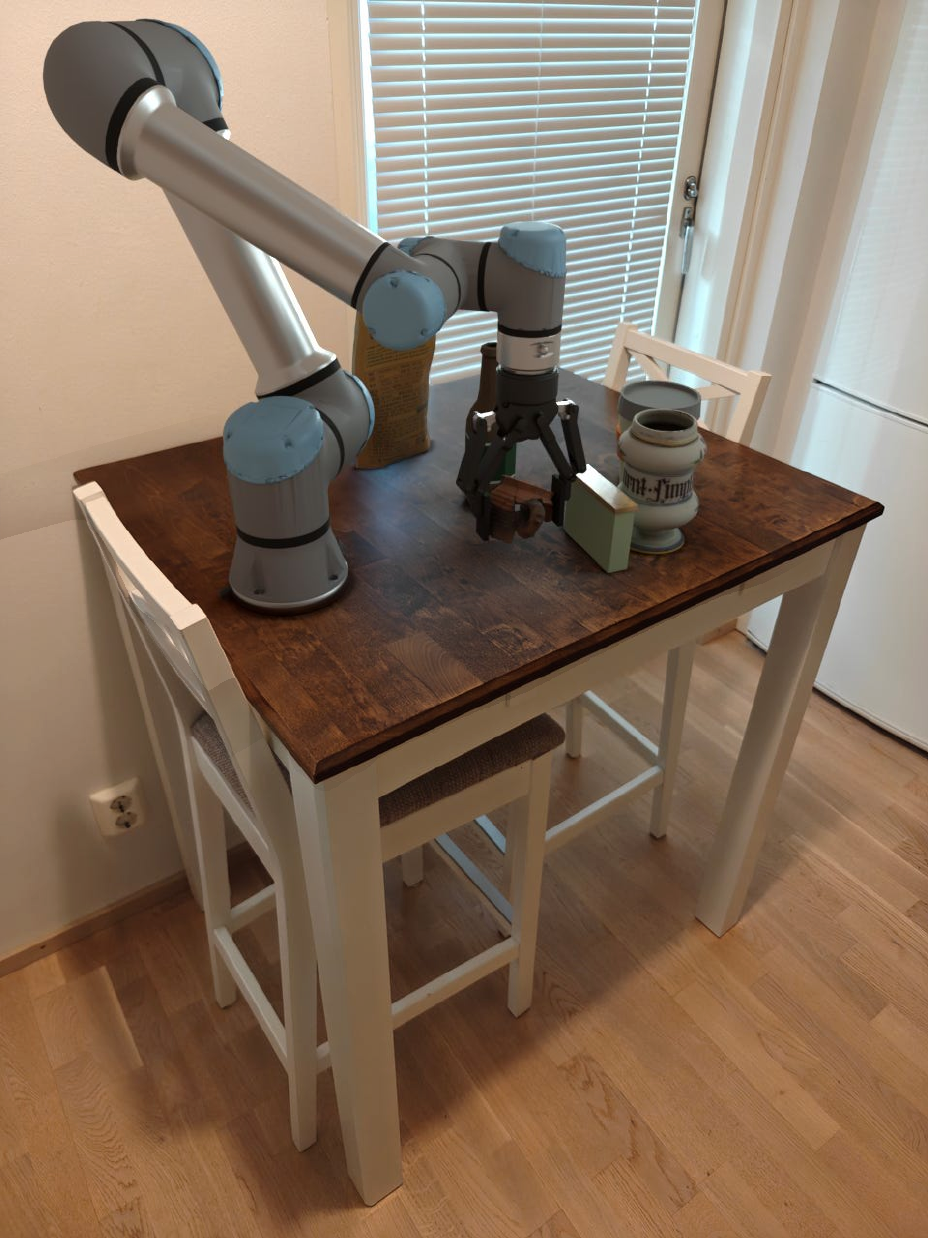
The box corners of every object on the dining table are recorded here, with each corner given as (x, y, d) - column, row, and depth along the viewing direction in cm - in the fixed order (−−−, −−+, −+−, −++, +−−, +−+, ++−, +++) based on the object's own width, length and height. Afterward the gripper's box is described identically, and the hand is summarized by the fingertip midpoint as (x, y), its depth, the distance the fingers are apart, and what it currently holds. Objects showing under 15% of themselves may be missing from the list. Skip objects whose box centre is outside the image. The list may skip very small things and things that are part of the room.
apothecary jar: (591, 526, 130) (604, 409, 120) (660, 511, 134) (678, 397, 124) (636, 565, 121) (654, 442, 111) (709, 548, 125) (732, 428, 115)
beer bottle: (509, 513, 133) (517, 355, 120) (459, 508, 134) (460, 351, 121) (517, 491, 140) (525, 338, 126) (469, 486, 141) (471, 334, 127)
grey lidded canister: (702, 497, 139) (718, 405, 130) (628, 506, 136) (640, 413, 127) (665, 464, 149) (678, 376, 140) (595, 472, 146) (605, 383, 137)
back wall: (607, 574, 119) (615, 509, 114) (561, 529, 130) (567, 467, 124) (629, 569, 121) (638, 504, 115) (582, 525, 131) (588, 463, 125)
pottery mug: (464, 525, 120) (484, 467, 119) (521, 543, 125) (541, 487, 124) (504, 544, 110) (526, 480, 109) (564, 563, 115) (587, 502, 113)
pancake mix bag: (453, 446, 153) (453, 278, 137) (367, 479, 142) (357, 300, 126) (426, 435, 157) (424, 270, 141) (341, 466, 146) (328, 291, 130)
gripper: (450, 387, 99) (450, 558, 112) (626, 363, 106) (608, 527, 119) (427, 366, 105) (430, 531, 118) (596, 345, 112) (581, 503, 125)
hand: (519, 529), depth 118 cm, fingers closed on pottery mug, 10 cm apart
